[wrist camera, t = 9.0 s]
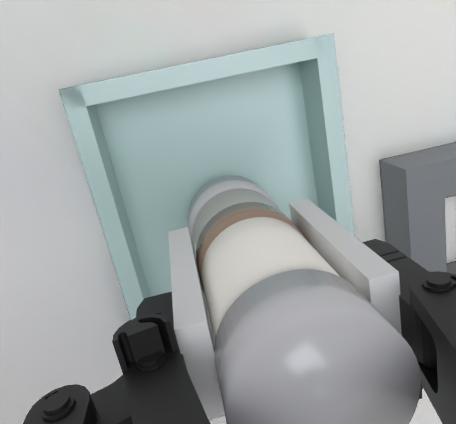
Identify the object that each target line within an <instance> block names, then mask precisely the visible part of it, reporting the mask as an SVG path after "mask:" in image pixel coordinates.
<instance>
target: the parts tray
mask: <svg viewBox="0 0 456 424" xmlns="http://www.w3.org/2000/svg"><path fill="white" fill-rule="evenodd" d="M59 92H60V95H61V98H62V102H63V105H64V108H65V111H66V114H67V118H68V121H69V124H70V127H71V130H72V133H73V137H74V140H75V143H76V146H77V149H78V153H79V156H80V159H81V162H82V165H83V168H84V172H85V175H86V178H87V181H88V184H89V188H90V191H91V194H92V197H93V200H94V204H95V207H96V210H97V213H98V216H99V219H100V223H101V226H102V229H103V232H104V235H105V239H106V242H107V245H108V248H109V251H110V255H111V258H112V261H113V264H114V267H115V270H116V274H117V277H118V280H119V283H120V286H121V290H122V293H123V296H124V299H125V302H126V306H127V309H128V312H129V315H130V318H131V320H132V319H134V318H136V311H137V308H138V306H139V305H140V303H141V302H142V301H143V299H144V298H147V297H151V296H155V295H159V294H163V293H167V292H171V291H172V287H171V270H170V254H169V237H168V232H169V231H173V230H177V229H181V228H186V227H188V224H187V213H188V208H189V205H190V202H191V200H192V198H193V197H194V195H195V194H196V192H197V191H198V190H199V189H200V188H201V187H202V186H203V185H205V184H206V183H208V182H209V181H211V180H213V179H215V178H218V177H222V176H228V175H235V176H241V177H245V178H248V179H250V180H252V181H254V182H255V183H257V184H258V185H259V186H260V187H261V188H262V189H263V190H264V191H265V192H266V193H267V194H268V195H269V196H270V197H271V198H272V199H273V200H274V202H275V203H276V204H277V206H278V208H279V209H280V211H281V212H282V213H284V214H285V215H286V216H287V217H288V218H289V219H290V220H291V215H290V208H289V203H290V202H295V201H299V200H303V199H307V198H308V199H309V200H310V201H311V202H313V203H314V204H315V205H316V206H318V207H319V208H320V209H321V210H323V211H324V212H325V213H326V214H328V215H329V216H330V217H331V218H333V219H334V220H335V221H336V222H338V223H339V224H340V225H341V226H343V227H344V228H345V229H346V230H347V231H349V232H350V233H351V234H352V235H354V236H355V231H354V221H353V212H352V202H351V193H350V183H349V173H348V164H347V154H346V145H345V135H344V126H343V116H342V106H341V97H340V87H339V78H338V68H337V59H336V49H335V40H334V33H332V34H328V35H323V36H318V37H313V38H308V39H303V40H298V41H293V42H288V43H284V44H279V45H274V46H269V47H264V48H259V49H254V50H249V51H244V52H240V53H235V54H230V55H225V56H220V57H215V58H210V59H205V60H200V61H195V62H191V63H186V64H181V65H176V66H171V67H166V68H161V69H156V70H151V71H147V72H142V73H137V74H132V75H127V76H122V77H117V78H112V79H107V80H103V81H98V82H93V83H88V84H83V85H78V86H73V87H68V88H63V89H59ZM194 254H195V252H194ZM195 258H196V254H195ZM204 296H205V294H204ZM205 300H206V299H205ZM206 305H207V303H206ZM207 310H208V308H207ZM208 315H209V313H208ZM209 319H210V318H209ZM210 324H211V322H210ZM211 329H212V327H211ZM212 334H213V332H212ZM213 338H214V336H213ZM214 343H215V341H214Z"/></svg>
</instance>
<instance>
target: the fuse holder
mask: <svg viewBox="0 0 456 424" xmlns="http://www.w3.org/2000/svg"><path fill="white" fill-rule="evenodd" d="M380 171H381V184H382V197H383V209H384V222H385V235H386V243H390V244H391V245H392V246H394V247H395V248H397V249H398V250H399V252H402V253H404V254H405V255H406V256H407V257H409V258H411V259H412V260H413V261H415V262H416V263H418V264H419V265H420V266H422V267H423V268H425V269H426V270H427V271H429V272H435V271H440V272H449V273H452V274H456V261H455V262H452V263H448V264H446V232H445V198H448V197H452V196H456V142H454V143H450V144H446V145H441V146H437V147H433V148H429V149H424V150H420V151H416V152H412V153H407V154H403V155H399V156H394V157H390V158H386V159H382V160H380Z"/></svg>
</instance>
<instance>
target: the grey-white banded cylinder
mask: <svg viewBox="0 0 456 424" xmlns="http://www.w3.org/2000/svg"><path fill="white" fill-rule="evenodd" d="M187 224H188V229H189V233H190V237H191V241H192V245H193V249H194V252H195V254H196V262H197V268H198V272H199V277H200V282H201V286H202V290H203V292H204V294H205V299H206V303H207V308H208V313H209V318H210V322H211V327H212V332H213V336H214V341H215V344H214V353H215V366H216V371H217V376H218V381H219V386H220V391H221V397H222V402H223V407H224V412H225V417H226V422H227V424H409V422H410V421H411V419H412V416H413V414H414V412H415V410H416V407H417V403H418V400H419V395H420V389H421V376H420V368H419V365H418V361H417V358H416V356H415V354H414V352H413V350H412V348H411V347H410V345H409V344H408V343H407V341H406V340H405V339H404V338H403V337H402V336H401V335H400V334H399V333H398V332H397V331H396V329H395V328H394V327H393V326H392V325H391V324H390V323H389V322H388V321H387V320H386V319H385V318H384V317H383V316H382V315H381V314H380V313H379V311H378V310H377V309H376V308H375V307H374V306H373V305H372V304H371V303H370V302H369V301H368V300H367V299H366V298H365V297H364V296H363V295H362V293H361V292H360V291H359V290H358V289H357V288H356V287H354V286H353V285H352V284H351V283H349V282H348V281H347V280H345V279H343V278H341V277H340V276H339V275H338V274H337V273H336V271H335V270H334V269H333V268H332V267H331V266H330V265H329V264H328V263H327V262H326V261H325V259H324V258H323V257H322V256H321V255H320V254H319V253H318V252H317V251H316V250H315V249H314V248H313V246H312V245H311V244H310V243H309V242H308V241H307V239H306V237H305V236H304V235H303V233H302V232H301V231H300V230H299V229H298V228H297V227H296V226H295V225H294V224H293V223H292V221H291V220H290V219H289V218H288V217H287V216H286V215H285V214H284V213H282V212H281V211H280V209H279V208H278V206H277V204H276V203H275V202H274V200H273V199H272V198H271V197H270V196H269V195H268V194H267V193H266V192H265V191H264V190H263V189H262V188H261V187H260V186H259V185H258V184H257V183H255V182H254V181H252V180H250V179H248V178H245V177H241V176H235V175H228V176H222V177H218V178H215V179H213V180H211V181H209V182H208V183H206V184H205V185H203V186H202V187H201V188H200V189H199V190H198V191H197V192H196V194H195V195H194V197H193V198H192V200H191V202H190V205H189V208H188V213H187Z"/></svg>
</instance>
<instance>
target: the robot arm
mask: <svg viewBox="0 0 456 424" xmlns="http://www.w3.org/2000/svg"><path fill="white" fill-rule="evenodd" d="M289 208H290V215H291V221H292V223H293V224H294V225H295V226H296V227H297V228H298V229H299V230H300V231H301V232H302V233H303V235H304V236H305V237H306V239H307V241H308V242H309V243H310V244H311V245H312V246H313V248H314V249H315V250H316V251H317V252H318V253H319V254H320V255H321V256H322V257H323V258H324V259H325V261H326V262H327V263H328V264H329V265H330V266H331V267H332V268H333V269H334V270H335V271H336V273H337V274H338V275H339V276H340V277H341V278H343V279H345V280H347V281H348V282H349V283H351V284H352V285H353V286H354V287H356V288H357V289H358V290H359V291H360V292H361V293H362V295H363V296H364V297H365V298H366V299H367V300H368V301H369V302H370V303H371V304H372V305H373V306H374V307H375V308H376V309H377V310H378V311H379V313H380V314H381V315H382V316H383V317H384V318H385V319H386V320H387V321H388V322H389V323H390V324H391V325H392V326H393V327H394V328H395V329H396V331H397V332H398V333H399V334H400V335H401V336H402V337H403V338H404V339H405V340H406V341H407V343H408V344H409V345H410V347H411V348H412V350H413V352H414V354H415V356H416V358H417V361H418V365H419V368H420V376H421V389H420V395H419V399H421V398H422V389H423V388H424V390H425V392H426V394H427V396H428V397H429V399H430V401H431V403H432V405H433V407H434V408H435V410H436V412H437V414H438V416H439V418H440V420H441V421H442V423H443V424H456V274H452V273H449V272H440V271H435V272H429V271H427V270H426V269H425V268H423V267H422V266H420V265H419V264H418V263H416V262H415V261H413V260H412V259H411V258H409V257H407V256H406V255H405V254H404V253H402V252H399V250H398V249H397V248H395V247H394V246H392V245H391V244H390V243H386V242H383V241H380V240H376V239H374V240H370V241H366V242H361V241H360V240H359V239H357V238H356V237H355V236H354V235H352V234H351V233H350V232H349V231H347V230H346V229H345V228H344V227H343V226H341V225H340V224H339V223H338V222H336V221H335V220H334V219H333V218H331V217H330V216H329V215H328V214H326V213H325V212H324V211H323V210H321V209H320V208H319V207H318V206H316V205H315V204H314V203H313V202H311V201H310V200H309V199H308V198H307V199H303V200H299V201H295V202H290V203H289ZM168 237H169V254H170V270H171V287H172V291H171V292H167V293H163V294H159V295H155V296H151V297H147V298H144V299H143V301H142V302H141V303H140V305H139V306H138V308H137V311H136V318H134V319H132V320H130V321H128V322H126V323H125V324H124V325H122V326H121V327H120V328H119V329H118V330H117V331H116V332H115V334H114V335H113V341H112V342H113V345H114V348H115V351H116V354H117V357H118V360H119V363H120V366H121V369H122V372H123V375H122V376H121V377H120V378H119V379H118V380H116V381H115V382H114V383H112V384H110V385H109V386H107V387H105V388H103V389H101V390H99V391H97V392H95V393H93V394H91V395H90V392H89V391H88V390H87V389H86V387H84V386H81V385H77V384H76V385H67V386H63V387H61V388H58V389H55V390H53V391H51V392H50V393H48V394H46V395H45V396H43V397H42V398H41V399H40V400H39V401H38V402H36V403H35V404H34V405H33V407H32V408H31V410H30V411H29V413H28V414H27V416H26V418H25V421H24V423H23V424H210V422H209V420H210V419H213V418H217V417H221V416H224V415H225V412H224V407H223V402H222V397H221V391H220V386H219V381H218V376H217V371H216V366H215V353H214V344H215V343H214V338H213V334H212V329H211V324H210V319H209V315H208V310H207V305H206V300H205V296H204V292H203V290H202V286H201V282H200V277H199V272H198V268H197V262H196V258H195V254H194V249H193V245H192V241H191V237H190V233H189V229H188V227H186V228H181V229H177V230H173V231H169V232H168Z"/></svg>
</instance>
